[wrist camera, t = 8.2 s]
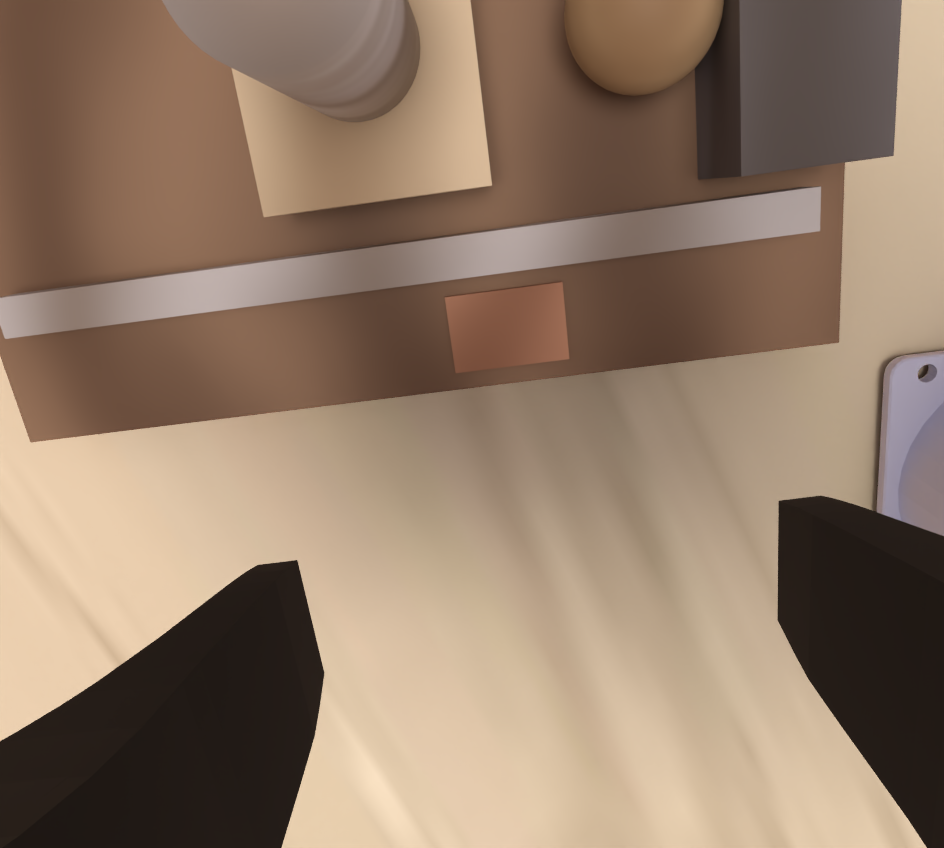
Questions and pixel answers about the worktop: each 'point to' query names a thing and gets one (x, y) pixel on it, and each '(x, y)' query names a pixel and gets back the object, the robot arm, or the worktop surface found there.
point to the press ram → (350, 96)
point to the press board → (428, 211)
